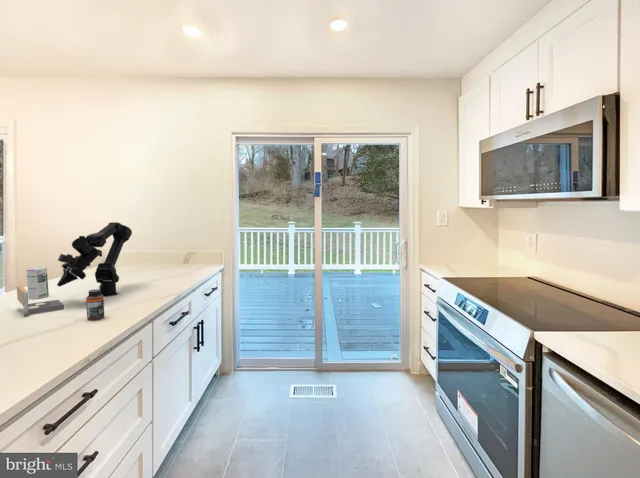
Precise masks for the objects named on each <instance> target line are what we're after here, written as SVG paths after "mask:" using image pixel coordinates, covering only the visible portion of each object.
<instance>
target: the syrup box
mask: <svg viewBox="0 0 640 478" xmlns="http://www.w3.org/2000/svg"><path fill="white" fill-rule="evenodd" d="M25 271H26V282H27V283H26V284H27V291H28V299H35V300H38V299H43V298H46V297H49V295H50V294H49V293H50V292H49V285H48V284H49V281H48V268H47V266H36V267H30V268H26V270H25Z"/></svg>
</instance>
